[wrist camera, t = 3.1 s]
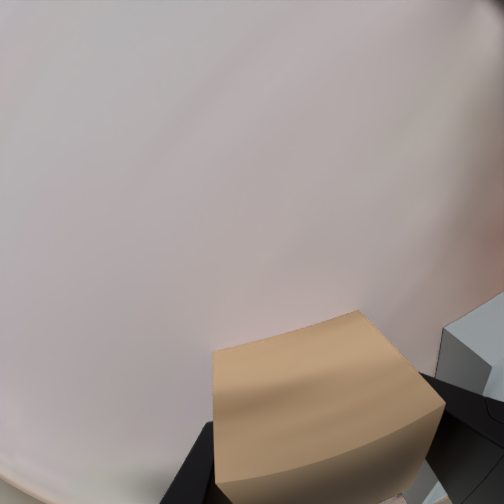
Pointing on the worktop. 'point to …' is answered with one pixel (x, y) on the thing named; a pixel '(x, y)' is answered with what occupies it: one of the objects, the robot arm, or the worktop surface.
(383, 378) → the block
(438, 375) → the tray
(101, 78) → the worktop surface
